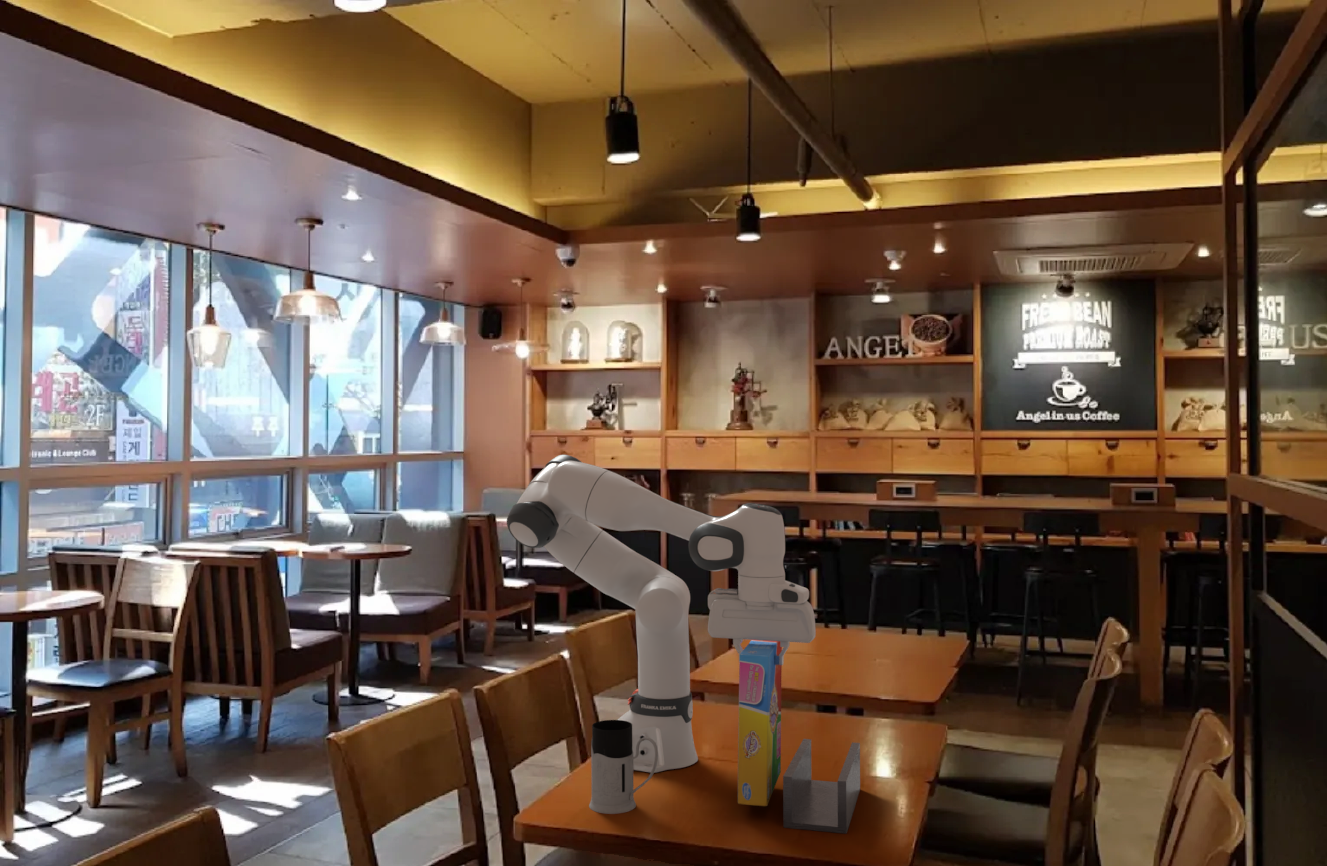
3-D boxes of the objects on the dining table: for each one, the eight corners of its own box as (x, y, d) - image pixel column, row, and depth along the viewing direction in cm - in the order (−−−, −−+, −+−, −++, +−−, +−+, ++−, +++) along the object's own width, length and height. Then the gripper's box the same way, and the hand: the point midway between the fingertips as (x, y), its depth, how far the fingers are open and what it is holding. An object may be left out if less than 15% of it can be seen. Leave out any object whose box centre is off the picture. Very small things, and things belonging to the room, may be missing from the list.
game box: (767, 808, 188) (768, 655, 188) (736, 805, 189) (738, 653, 189) (781, 771, 208) (782, 634, 208) (753, 769, 209) (754, 632, 209)
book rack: (783, 827, 185) (783, 776, 185) (803, 784, 208) (803, 738, 208) (846, 833, 182) (846, 781, 182) (860, 789, 205) (859, 742, 205)
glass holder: (606, 794, 203) (605, 716, 203) (669, 807, 195) (669, 726, 196) (579, 808, 195) (579, 727, 195) (644, 822, 188) (644, 738, 188)
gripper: (703, 589, 198) (703, 663, 198) (812, 594, 193) (812, 670, 193) (711, 585, 204) (711, 656, 204) (817, 590, 199) (816, 663, 199)
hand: (761, 663), depth 199 cm, fingers closed on game box, 5 cm apart
